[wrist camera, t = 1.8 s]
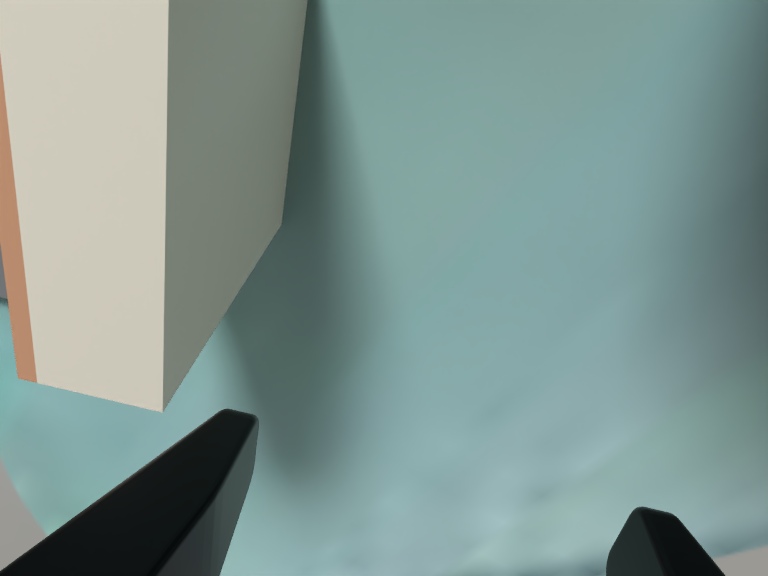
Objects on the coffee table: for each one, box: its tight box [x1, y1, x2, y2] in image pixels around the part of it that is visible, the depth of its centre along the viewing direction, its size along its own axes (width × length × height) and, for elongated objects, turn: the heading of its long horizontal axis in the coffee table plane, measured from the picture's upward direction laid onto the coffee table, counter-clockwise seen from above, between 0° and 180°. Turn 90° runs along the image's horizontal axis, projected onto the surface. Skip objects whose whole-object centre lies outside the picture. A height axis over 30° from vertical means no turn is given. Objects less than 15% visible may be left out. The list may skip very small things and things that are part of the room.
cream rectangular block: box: [0, 0, 308, 413], centre depth 15 cm, size 3×8×9 cm, turn 169°
